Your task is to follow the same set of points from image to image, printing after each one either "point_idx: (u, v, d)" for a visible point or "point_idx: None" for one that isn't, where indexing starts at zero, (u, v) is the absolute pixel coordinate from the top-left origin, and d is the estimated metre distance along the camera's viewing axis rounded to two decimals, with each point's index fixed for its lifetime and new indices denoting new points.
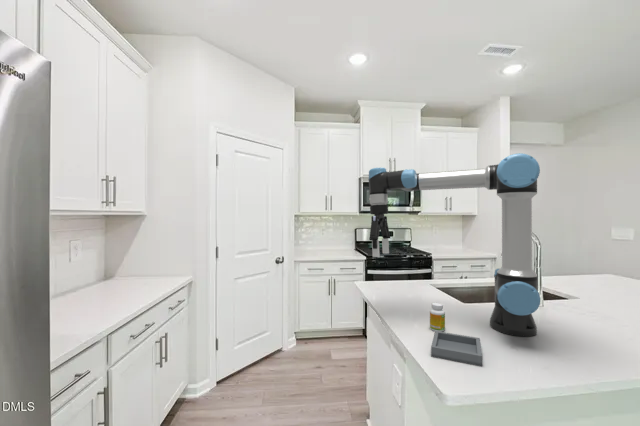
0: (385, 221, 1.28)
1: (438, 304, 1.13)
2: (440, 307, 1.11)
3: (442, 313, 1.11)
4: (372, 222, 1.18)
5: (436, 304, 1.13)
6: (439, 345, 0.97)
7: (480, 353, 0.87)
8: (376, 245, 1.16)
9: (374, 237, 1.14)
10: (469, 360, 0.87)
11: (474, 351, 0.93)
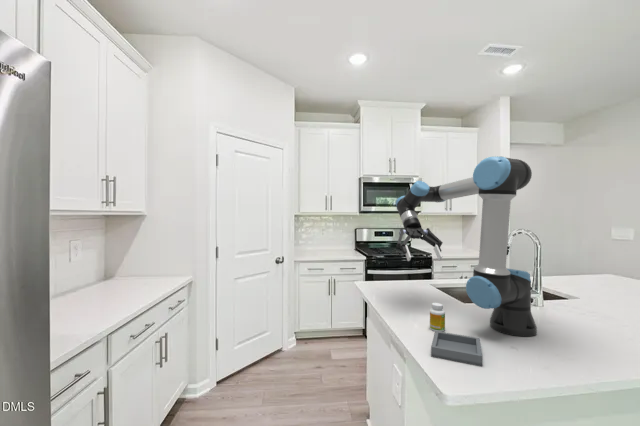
0: (428, 232, 1.33)
1: (438, 304, 1.13)
2: (440, 307, 1.11)
3: (442, 313, 1.11)
4: None
5: (436, 304, 1.13)
6: (439, 345, 0.97)
7: (480, 353, 0.87)
8: (404, 249, 1.26)
9: (397, 243, 1.28)
10: (469, 360, 0.87)
11: (474, 351, 0.93)
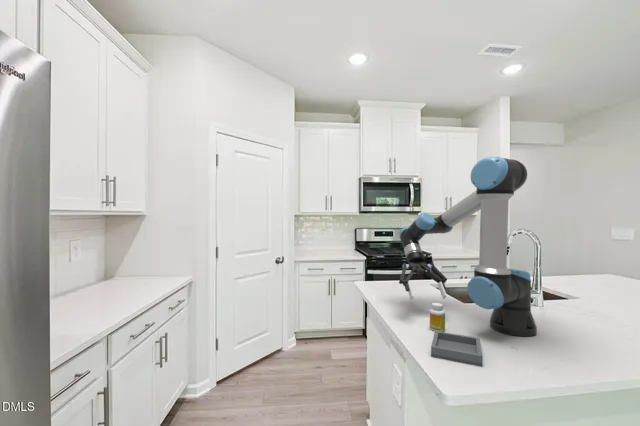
0: (432, 267, 1.29)
1: (438, 304, 1.13)
2: (440, 307, 1.11)
3: (442, 313, 1.11)
4: (402, 270, 1.29)
5: (436, 304, 1.13)
6: (439, 345, 0.97)
7: (480, 353, 0.87)
8: (407, 287, 1.22)
9: (400, 280, 1.24)
10: (469, 360, 0.87)
11: (474, 351, 0.93)
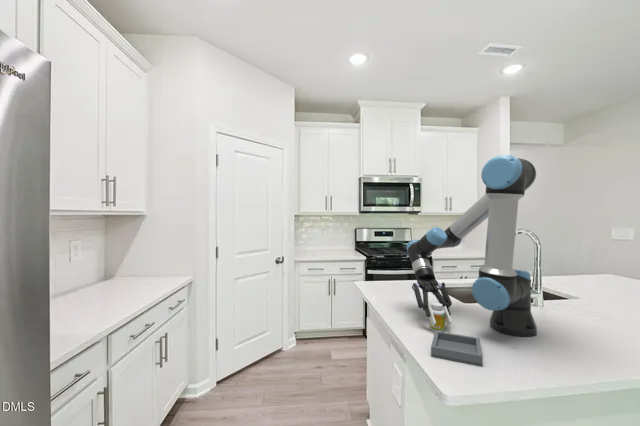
0: (441, 287, 1.20)
1: (438, 304, 1.13)
2: (440, 307, 1.11)
3: (442, 313, 1.11)
4: (414, 291, 1.19)
5: (436, 304, 1.13)
6: (439, 345, 0.97)
7: (480, 353, 0.87)
8: (428, 312, 1.12)
9: (420, 304, 1.14)
10: (469, 360, 0.87)
11: (474, 351, 0.93)
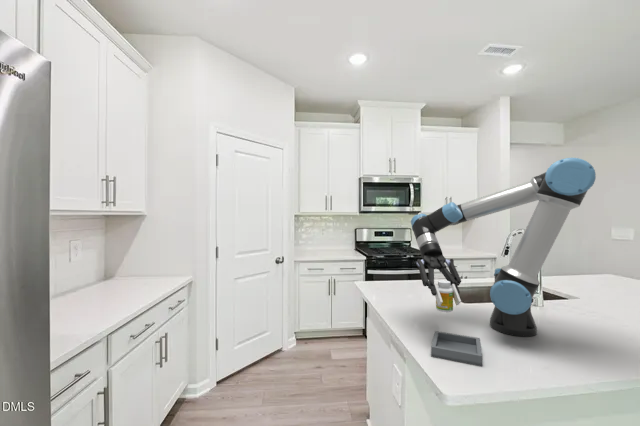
0: (450, 263, 1.07)
1: (445, 281, 1.00)
2: (447, 284, 0.99)
3: (450, 291, 0.98)
4: (419, 268, 1.07)
5: (443, 281, 1.00)
6: (439, 345, 0.97)
7: (480, 353, 0.87)
8: (433, 290, 0.99)
9: (424, 281, 1.02)
10: (469, 360, 0.87)
11: (474, 351, 0.93)
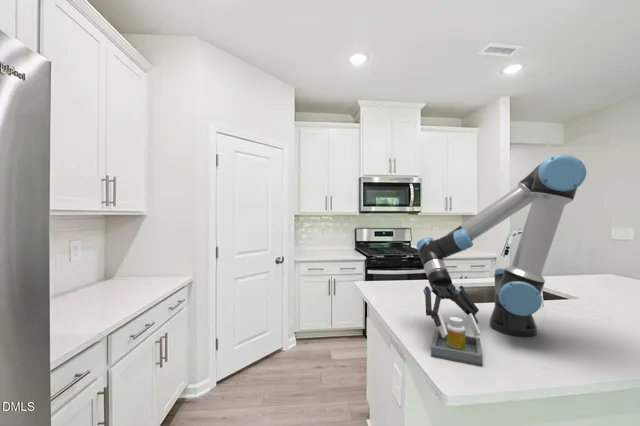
0: (461, 291, 1.02)
1: (457, 319, 0.94)
2: (460, 323, 0.93)
3: (462, 330, 0.92)
4: (425, 296, 1.02)
5: (455, 319, 0.94)
6: (439, 345, 0.97)
7: (480, 353, 0.87)
8: (437, 320, 0.94)
9: (427, 311, 0.96)
10: (469, 360, 0.87)
11: (474, 351, 0.93)
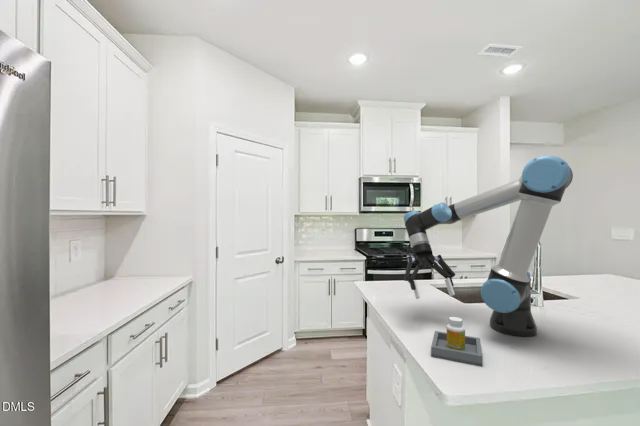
0: (439, 260, 1.19)
1: (457, 319, 0.94)
2: (459, 323, 0.93)
3: (462, 330, 0.92)
4: (407, 264, 1.18)
5: (454, 319, 0.94)
6: (439, 345, 0.97)
7: (480, 353, 0.87)
8: (413, 285, 1.12)
9: (405, 277, 1.14)
10: (469, 360, 0.87)
11: (474, 351, 0.93)
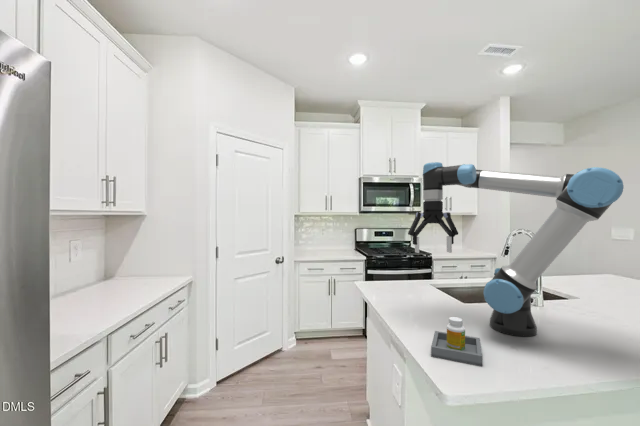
0: (447, 218, 1.20)
1: (457, 319, 0.94)
2: (460, 323, 0.93)
3: (462, 330, 0.92)
4: (415, 218, 1.21)
5: (454, 319, 0.94)
6: (439, 345, 0.97)
7: (480, 353, 0.87)
8: (415, 241, 1.19)
9: (409, 233, 1.19)
10: (469, 360, 0.87)
11: (474, 351, 0.93)
